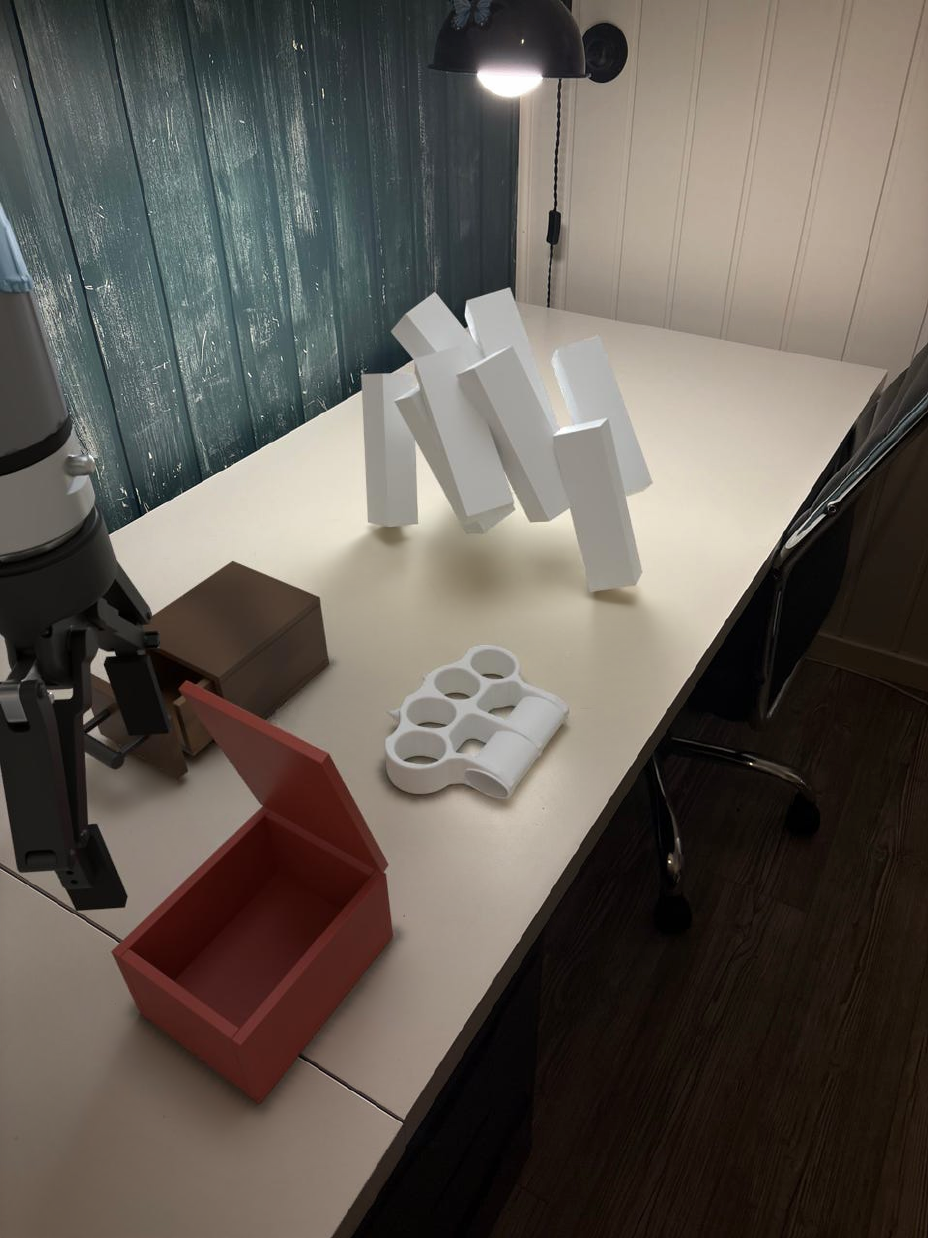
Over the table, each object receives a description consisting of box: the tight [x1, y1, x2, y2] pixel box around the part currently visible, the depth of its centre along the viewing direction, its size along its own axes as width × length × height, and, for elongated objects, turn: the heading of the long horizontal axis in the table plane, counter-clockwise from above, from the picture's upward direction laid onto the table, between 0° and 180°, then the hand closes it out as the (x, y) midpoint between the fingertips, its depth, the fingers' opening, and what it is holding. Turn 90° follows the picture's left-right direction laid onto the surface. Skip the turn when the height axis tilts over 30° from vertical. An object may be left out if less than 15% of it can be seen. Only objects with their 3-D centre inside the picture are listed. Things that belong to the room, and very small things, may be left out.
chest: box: [110, 805, 394, 1104], centre depth 65 cm, size 15×12×8 cm
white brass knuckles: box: [384, 644, 570, 800], centre depth 85 cm, size 3×18×15 cm
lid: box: [179, 680, 389, 873], centre depth 61 cm, size 16×12×1 cm
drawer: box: [83, 650, 218, 780], centre depth 83 cm, size 17×10×7 cm, turn 147°
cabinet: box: [143, 560, 330, 721], centre depth 89 cm, size 14×12×9 cm
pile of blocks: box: [360, 287, 654, 593], centre depth 107 cm, size 35×30×35 cm
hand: (128, 809), depth 57 cm, fingers open, 13 cm apart
